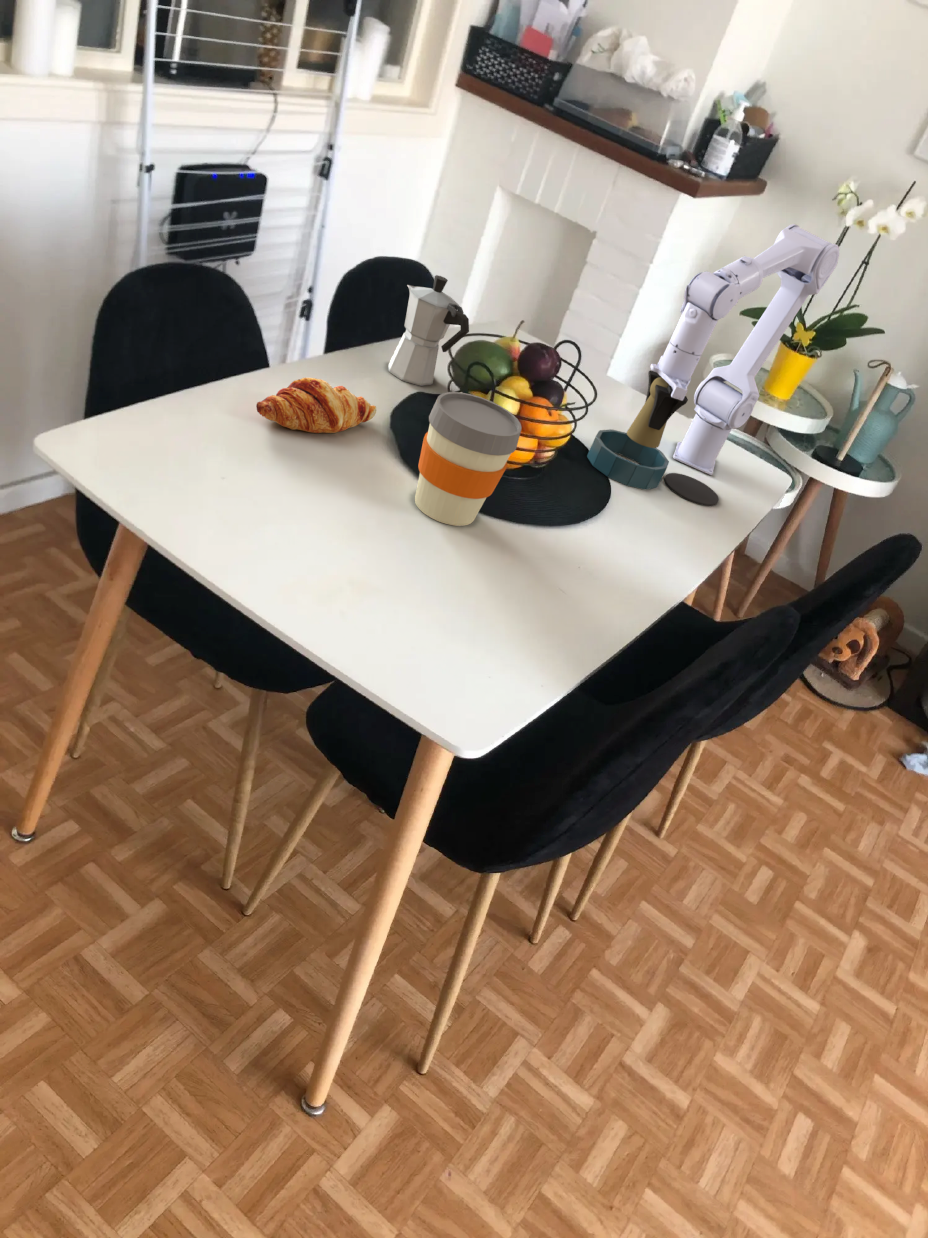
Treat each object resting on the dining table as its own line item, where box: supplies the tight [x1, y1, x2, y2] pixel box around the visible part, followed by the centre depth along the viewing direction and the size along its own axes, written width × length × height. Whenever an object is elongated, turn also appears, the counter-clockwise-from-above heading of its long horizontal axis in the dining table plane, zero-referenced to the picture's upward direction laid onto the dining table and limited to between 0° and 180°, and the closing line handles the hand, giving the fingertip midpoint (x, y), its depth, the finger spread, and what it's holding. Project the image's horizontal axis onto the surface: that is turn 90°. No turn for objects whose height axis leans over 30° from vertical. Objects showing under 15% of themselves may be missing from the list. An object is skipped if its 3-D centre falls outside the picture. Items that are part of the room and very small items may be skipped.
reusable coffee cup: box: [414, 391, 523, 527], centre depth 138 cm, size 12×12×15 cm
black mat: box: [663, 472, 720, 507], centre depth 179 cm, size 10×10×1 cm
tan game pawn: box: [626, 377, 669, 449], centre depth 171 cm, size 6×6×11 cm
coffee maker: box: [387, 274, 470, 387], centre depth 175 cm, size 15×9×18 cm, turn 50°
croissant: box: [255, 377, 377, 434], centre depth 150 cm, size 21×10×8 cm, turn 130°
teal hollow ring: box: [586, 428, 670, 490], centre depth 176 cm, size 13×13×4 cm
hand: (651, 421), depth 172 cm, fingers closed on tan game pawn, 5 cm apart
